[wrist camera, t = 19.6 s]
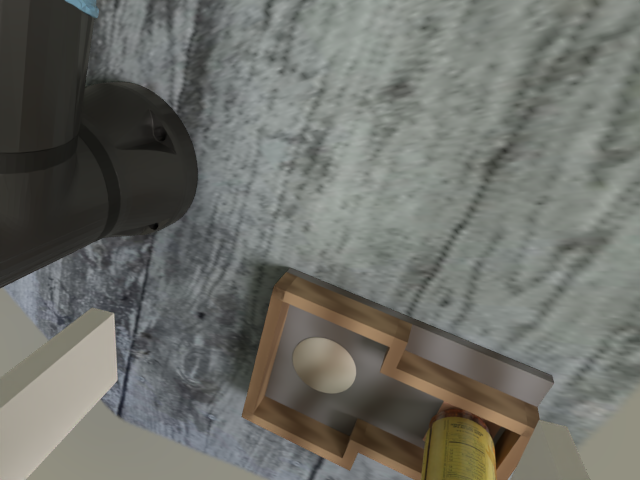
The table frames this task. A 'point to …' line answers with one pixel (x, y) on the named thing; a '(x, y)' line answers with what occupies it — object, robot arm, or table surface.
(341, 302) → the keyhole guide
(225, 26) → the table surface
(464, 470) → the sauce bottle
